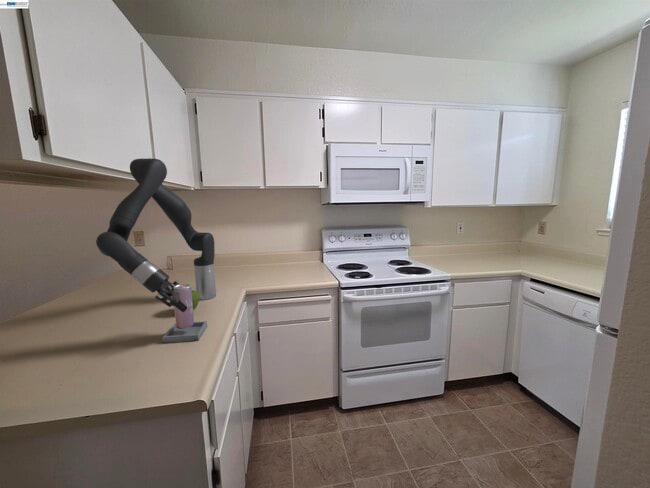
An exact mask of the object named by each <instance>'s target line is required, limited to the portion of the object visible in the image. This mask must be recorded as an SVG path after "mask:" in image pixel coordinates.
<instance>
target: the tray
mask: <svg viewBox="0 0 650 488" xmlns="http://www.w3.org/2000/svg"><path fill="white" fill-rule="evenodd" d="M207 328H208V321H206V320H203V321H194V324H193V326H192V327H190V328H187V329H178V328H177V327H176V322H175V323H174V324H173V325H172V326H171V327H170V329H168V331H167V332H166V333H165V334H164V335H163V336H162V338H161V339H162V343H163V344H171V342H173V343H182V342H183V343H184V342H196V341H200V339H201V337H202V336H203V334H204V332H205V331H206V329H207Z"/></svg>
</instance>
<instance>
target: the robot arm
mask: <svg viewBox="0 0 650 488" xmlns="http://www.w3.org/2000/svg"><path fill="white" fill-rule="evenodd" d="M129 171H130V174H131V176H132V178H133V179H134V180H135V181H136V183H138V185H137V187H136V188H135V189H134V190H132V192H130V193H129V194H127V196H125V197H124V198H123V199H122V201H120V202H119V204H118V205H117V207H116V208H115V210H114V212H113V214H112V215H111V217H110V219H109V226H108V229H107V230H106V231H104V232H102V233H100V234H98V236H97V238H96V240H95V241H96V246H97V248H98V250H99V252H101V254H102V255H103V256H106V257H110V258H111V259H112V260H114V261H115V262H116V263H117V264H118V265H119V266H120V268H122V269H123V270H124V271H125V272H127V273H128V274H129V275H130V276H132V277H133V279H134V280H136V281H137V282H138V283H140V285H142V286H143V287H144V288H145V289H147V290H148V291H149V292H151V293H153V294H154V293H155V292H157V294H156V295H155V296H154V297H155V299H157V300H158V301H159V302H161V303H163V304H164V305H166V306H167V307H168V308H171V307H174V306H175V307H177V308H178V309H179V310H180V311H182V312H185V310H186V309H187V308H188V307H187V306H186V305H184V304H183V303H182V302H181V301H179V300H178V298H177V297H176V295H175V293H174V292H173V287H175V286H177V285H181V284H180V283H179V282H177V280H174V281H173V282H171V281H169V279H170V276H169V274H167V273H166V272H165V271H164V270H162V269H161V268H160V267H158V266H157V264H155V263H153V262H152V261H150V260H149V259H147V258H146V257H145V256H144V255H143V254H141V253H139V252H138V251H137V250H136V249H135V248H134V247H133V246H132V245H131V244H130V243H129V242H128V240H129V238H130V234H131V232H132V230H133V228H134V227H135V225H136V223H137V222H138V221H137V220H138V218H139V217H140V215H141V213H142V211H143V210H144V208H145V206H146V205H147V204H148V202H149V201H150V200H151V198H152V199H153V200H154V201H155V203H156V204H157V205H158V206H159V207H160V209H161V210H162V211H163V213H164V214H165V216H167V218H168V219H169V220H170V222H172V224H173V225H174V226H175V227H176V229H177V230H178V232H179V233H180V235H181V236H182V237H183V240H185V242H186V244H187V245H188V246H189V248H190V249H191V250H192V251H197V252H201V256H199V257H196V258H194V260H193V267H194V268H193V269H194V271H193V272H194V283H195V291H197V292H198V293H199V295H200V299H199V301H200V300H203V301H205V300H206V301H207V300H211V299H214V298H215V297H217V292H216V291H217V289H216V275H215V237H214V235H213V234H212V233H210V232H199V231H197V230H196V229H195V228H194V227H193V225H192V217H193V216H192V212H191V209H190V207H189V206H188V205H187V203H185V201H184V199H183V198H181V197H180V196H178V195H177V194H176V193H174V192H173V191H172V190H170V189H169V188H167V187H166V186H165V185H163V183H164V181H165V180H166V178H167V175H168V170H167V166H166V164H165V162H163V161H162V160H161V159H158V158H136V159H133V160H131V162H130V164H129ZM192 301H193V300H192ZM193 302H194V301H193Z"/></svg>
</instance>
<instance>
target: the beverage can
mask: <svg viewBox="0 0 650 488" xmlns="http://www.w3.org/2000/svg"><path fill="white" fill-rule="evenodd" d="M192 290H193V289H192V285H191V284H189V283H188V284H185V283H184V284H180V285H177V286H175V287H173V292H174V293H175V295H176V297H177V298H178V300H179V301H181V302H182V303H183V304H184V305H186V306H187V307H188V308H187V309H186V310H185V312H182V311H180V310H179V309H178V308H177V307H175V306H173V307H174V308H173V309H174V319H175V323H176V327H177V328H178V329H187V328H190V327H192V326H193V324H194V322H195V318H194V317H195V316H194V310H193V301H192Z"/></svg>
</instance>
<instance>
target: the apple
mask: <svg viewBox="0 0 650 488" xmlns="http://www.w3.org/2000/svg"><path fill="white" fill-rule="evenodd" d="M199 299H200V295H199V293H198V292H197V291H196V290H194V289H192V300H193V301H194V302H193V311H195V309H197V307H198V305H199V302H200V300H199Z"/></svg>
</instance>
